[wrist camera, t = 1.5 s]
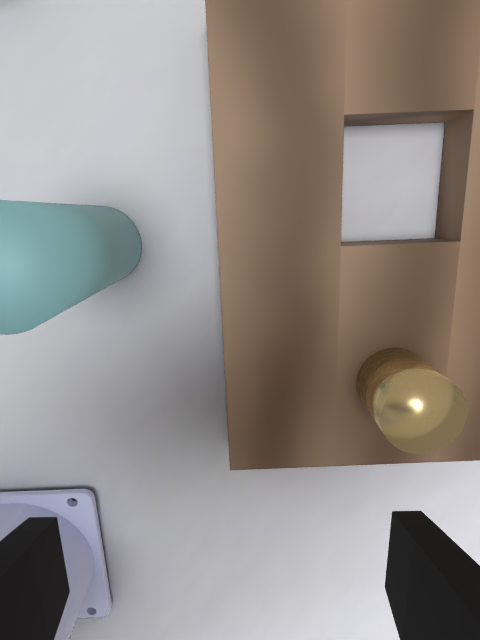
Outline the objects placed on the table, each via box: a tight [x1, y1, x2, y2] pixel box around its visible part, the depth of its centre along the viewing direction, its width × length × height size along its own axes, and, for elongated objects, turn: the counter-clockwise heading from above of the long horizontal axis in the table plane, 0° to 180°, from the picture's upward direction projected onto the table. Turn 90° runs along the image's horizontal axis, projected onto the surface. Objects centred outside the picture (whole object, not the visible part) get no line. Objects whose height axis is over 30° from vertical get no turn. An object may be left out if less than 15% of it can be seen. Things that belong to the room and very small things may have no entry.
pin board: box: [205, 0, 480, 470], centre depth 15 cm, size 14×18×5 cm
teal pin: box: [0, 200, 142, 335], centre depth 13 cm, size 3×3×8 cm
